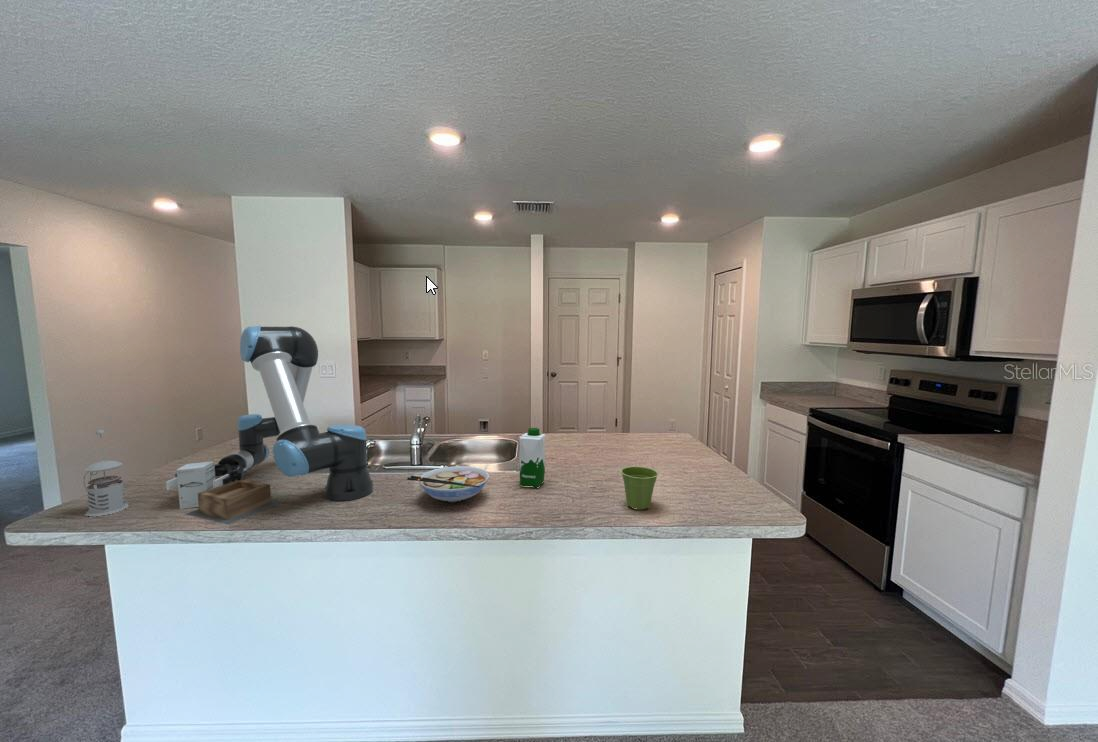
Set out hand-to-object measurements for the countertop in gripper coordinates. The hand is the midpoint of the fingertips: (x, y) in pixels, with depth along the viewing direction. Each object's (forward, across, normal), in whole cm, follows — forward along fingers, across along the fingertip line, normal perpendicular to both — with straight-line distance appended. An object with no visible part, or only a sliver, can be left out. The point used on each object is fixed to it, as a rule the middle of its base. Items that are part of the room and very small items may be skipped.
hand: (190, 485), depth 133 cm
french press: (0, +25, -7) cm, 26 cm away
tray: (+1, -14, -7) cm, 15 cm away
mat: (+1, -14, -7) cm, 16 cm away
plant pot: (+6, -139, -7) cm, 140 cm away
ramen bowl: (-4, -80, -7) cm, 80 cm away
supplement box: (-3, 0, -7) cm, 8 cm away
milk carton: (-15, -106, -7) cm, 107 cm away
